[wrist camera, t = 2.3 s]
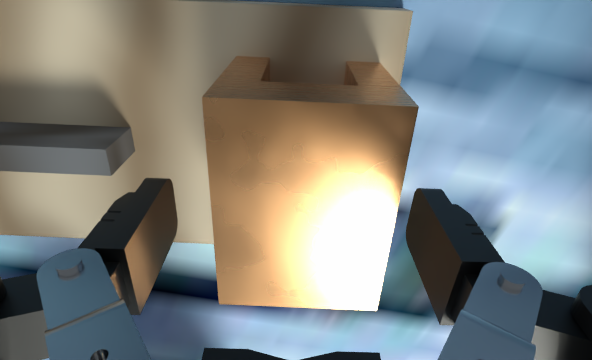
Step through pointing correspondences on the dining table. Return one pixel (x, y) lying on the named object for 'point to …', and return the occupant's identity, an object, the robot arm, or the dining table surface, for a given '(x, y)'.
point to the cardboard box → (305, 184)
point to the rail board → (148, 95)
